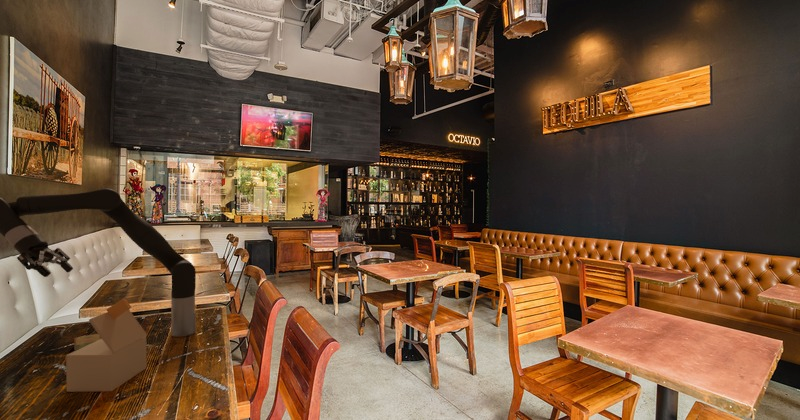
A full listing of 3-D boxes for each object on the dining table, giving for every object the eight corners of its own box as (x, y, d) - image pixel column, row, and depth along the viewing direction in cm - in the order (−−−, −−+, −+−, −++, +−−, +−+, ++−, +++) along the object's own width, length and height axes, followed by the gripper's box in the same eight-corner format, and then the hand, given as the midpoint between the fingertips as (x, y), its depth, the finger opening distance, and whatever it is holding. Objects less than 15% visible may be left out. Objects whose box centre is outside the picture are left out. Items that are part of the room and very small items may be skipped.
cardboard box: (146, 368, 129) (146, 336, 129) (111, 391, 113) (111, 354, 113) (107, 368, 129) (106, 336, 129) (66, 391, 113) (66, 355, 113)
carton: (99, 342, 153) (99, 332, 153) (102, 354, 141) (102, 343, 141) (73, 347, 148) (73, 337, 147) (74, 360, 136) (74, 349, 136)
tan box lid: (145, 335, 128) (162, 324, 128) (112, 353, 113) (131, 340, 113) (122, 304, 128) (139, 292, 128) (86, 317, 113) (105, 304, 113)
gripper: (12, 235, 120) (48, 269, 120) (53, 231, 134) (84, 262, 135) (-3, 250, 120) (32, 284, 120) (38, 245, 134) (70, 276, 135)
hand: (59, 272), depth 127 cm, fingers open, 8 cm apart
